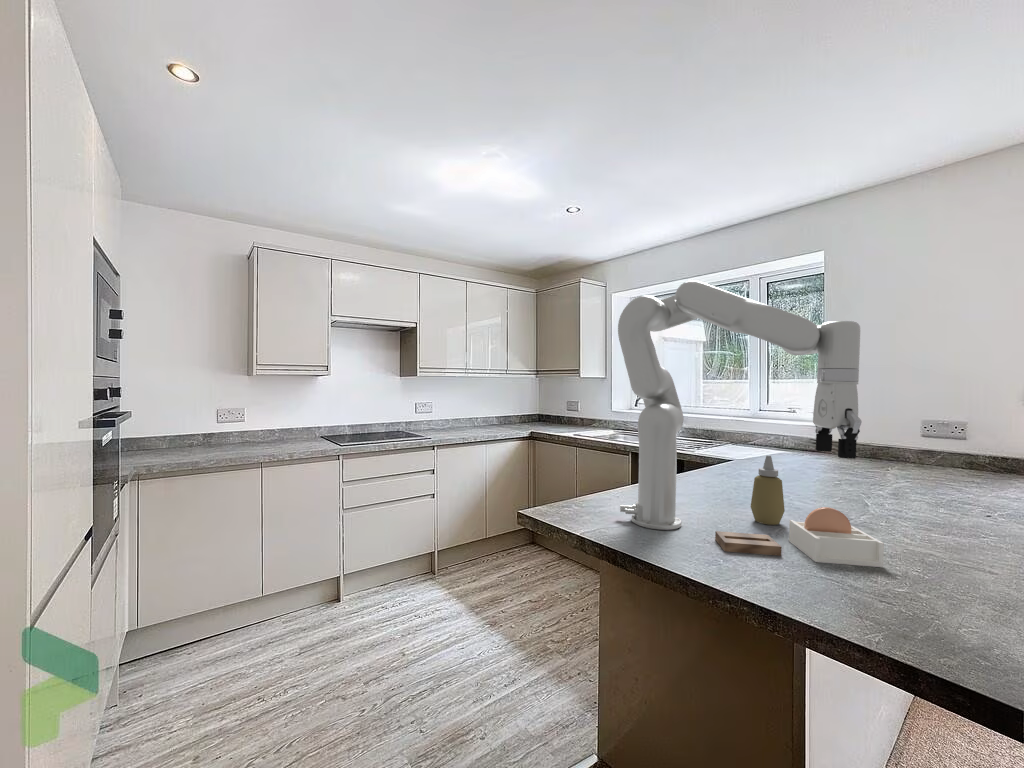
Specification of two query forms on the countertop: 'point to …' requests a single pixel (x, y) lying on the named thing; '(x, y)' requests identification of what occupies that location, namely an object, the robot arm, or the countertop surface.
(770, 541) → the stand
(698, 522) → the countertop surface
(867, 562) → the rack
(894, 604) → the countertop surface
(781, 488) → the squeeze bottle
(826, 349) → the robot arm
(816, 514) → the peach round disc
